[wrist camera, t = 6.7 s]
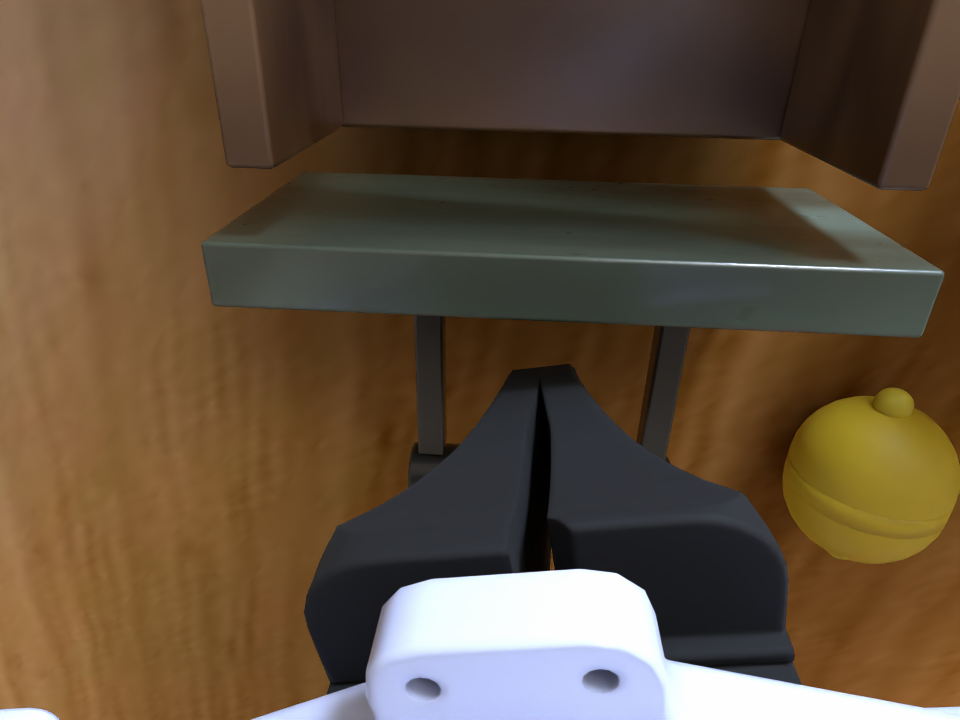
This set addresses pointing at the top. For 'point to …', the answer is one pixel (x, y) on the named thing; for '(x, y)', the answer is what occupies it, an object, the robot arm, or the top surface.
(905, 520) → the lemon
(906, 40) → the drawer
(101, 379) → the top surface
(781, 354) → the top surface
